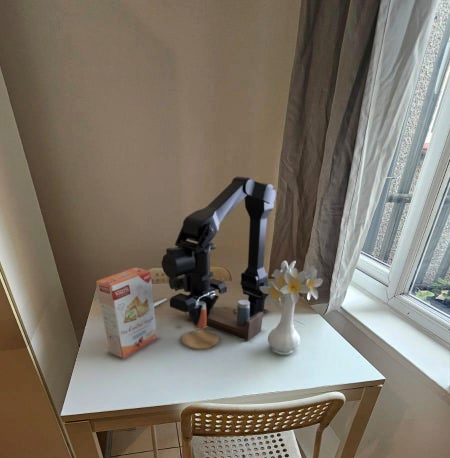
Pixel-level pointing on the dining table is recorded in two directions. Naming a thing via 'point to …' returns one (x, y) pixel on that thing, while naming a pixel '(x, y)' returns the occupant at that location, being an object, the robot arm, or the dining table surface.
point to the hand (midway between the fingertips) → (200, 322)
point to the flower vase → (288, 303)
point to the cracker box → (127, 310)
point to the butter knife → (159, 302)
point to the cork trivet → (200, 339)
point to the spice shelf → (234, 324)
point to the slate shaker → (243, 312)
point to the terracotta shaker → (202, 316)
